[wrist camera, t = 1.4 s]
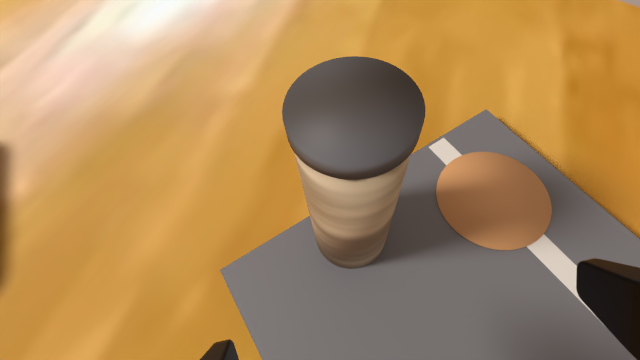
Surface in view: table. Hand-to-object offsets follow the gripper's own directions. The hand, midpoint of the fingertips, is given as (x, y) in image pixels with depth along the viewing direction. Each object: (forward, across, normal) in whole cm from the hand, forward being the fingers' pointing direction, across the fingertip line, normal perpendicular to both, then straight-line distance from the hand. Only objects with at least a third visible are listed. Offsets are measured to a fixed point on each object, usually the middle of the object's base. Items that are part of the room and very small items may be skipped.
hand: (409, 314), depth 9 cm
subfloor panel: (+10, -5, +8) cm, 14 cm away
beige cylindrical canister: (+12, 0, +4) cm, 13 cm away
